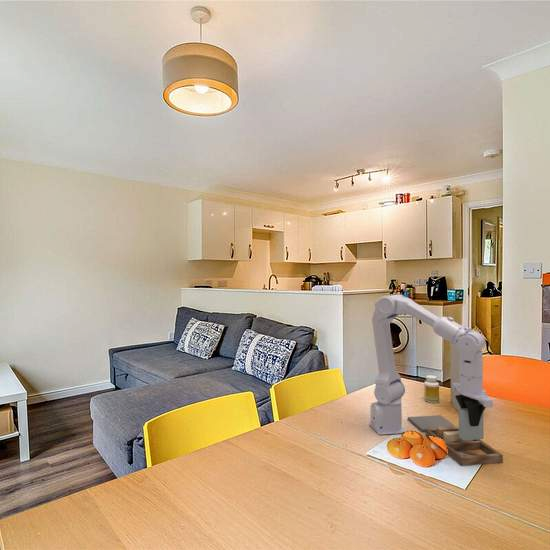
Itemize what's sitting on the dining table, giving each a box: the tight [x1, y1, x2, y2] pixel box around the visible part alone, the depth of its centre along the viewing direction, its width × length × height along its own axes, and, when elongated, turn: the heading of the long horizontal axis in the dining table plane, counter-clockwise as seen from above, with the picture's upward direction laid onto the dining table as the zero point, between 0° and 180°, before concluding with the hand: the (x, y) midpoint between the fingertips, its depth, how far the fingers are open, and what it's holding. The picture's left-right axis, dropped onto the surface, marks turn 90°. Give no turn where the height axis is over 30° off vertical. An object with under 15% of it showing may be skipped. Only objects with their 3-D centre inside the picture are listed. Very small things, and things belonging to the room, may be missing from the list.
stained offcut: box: [437, 425, 459, 439], centre depth 111 cm, size 8×2×4 cm, turn 96°
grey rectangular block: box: [458, 408, 485, 440], centre depth 101 cm, size 6×2×8 cm, turn 96°
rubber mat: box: [407, 414, 456, 434], centre depth 122 cm, size 12×10×1 cm
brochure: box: [449, 325, 473, 413], centre depth 135 cm, size 14×6×30 cm, turn 168°
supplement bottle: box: [423, 374, 440, 404], centre depth 144 cm, size 5×5×10 cm
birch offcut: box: [443, 431, 473, 443], centre depth 107 cm, size 8×2×4 cm, turn 96°
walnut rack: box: [425, 428, 504, 467], centre depth 106 cm, size 12×18×2 cm, turn 6°
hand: (471, 423), depth 101 cm, fingers closed on grey rectangular block, 2 cm apart
